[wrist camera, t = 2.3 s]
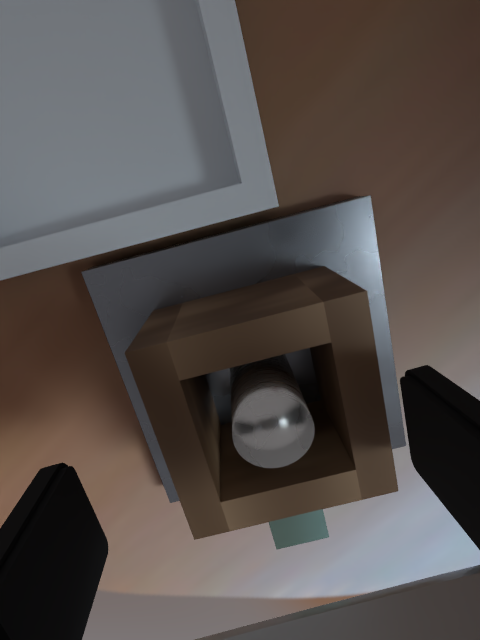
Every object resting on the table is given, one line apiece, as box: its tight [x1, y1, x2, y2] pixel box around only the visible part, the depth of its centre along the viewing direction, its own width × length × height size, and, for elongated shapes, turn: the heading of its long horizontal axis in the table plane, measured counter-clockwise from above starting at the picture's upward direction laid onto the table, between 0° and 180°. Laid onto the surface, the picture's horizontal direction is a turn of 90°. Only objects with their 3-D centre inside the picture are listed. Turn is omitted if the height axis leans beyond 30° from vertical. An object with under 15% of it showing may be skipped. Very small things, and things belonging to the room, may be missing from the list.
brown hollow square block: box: [125, 266, 398, 549], centre depth 13 cm, size 7×8×4 cm
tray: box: [0, 0, 279, 280], centre depth 12 cm, size 12×12×2 cm
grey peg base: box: [81, 196, 406, 503], centre depth 14 cm, size 11×11×6 cm
